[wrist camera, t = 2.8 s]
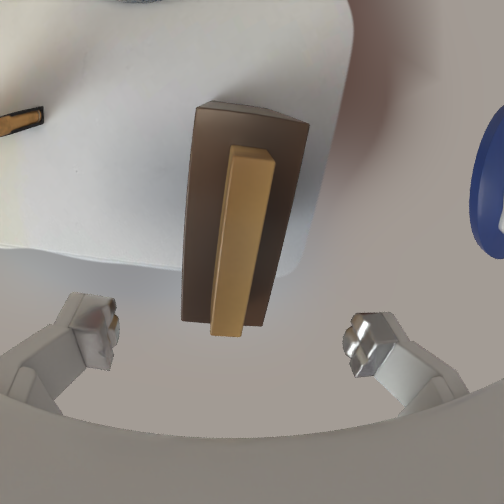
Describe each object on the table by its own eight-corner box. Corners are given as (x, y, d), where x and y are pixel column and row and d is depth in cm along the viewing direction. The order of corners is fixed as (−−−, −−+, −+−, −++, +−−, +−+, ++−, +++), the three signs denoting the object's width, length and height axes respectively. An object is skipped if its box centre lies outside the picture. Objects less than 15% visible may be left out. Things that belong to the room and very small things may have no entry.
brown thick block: (268, 108, 23) (310, 123, 12) (246, 231, 29) (262, 327, 18) (210, 100, 22) (196, 106, 11) (195, 226, 28) (180, 321, 17)
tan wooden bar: (267, 149, 12) (276, 161, 10) (238, 307, 17) (241, 338, 15) (230, 144, 12) (232, 155, 10) (210, 305, 16) (209, 336, 14)
